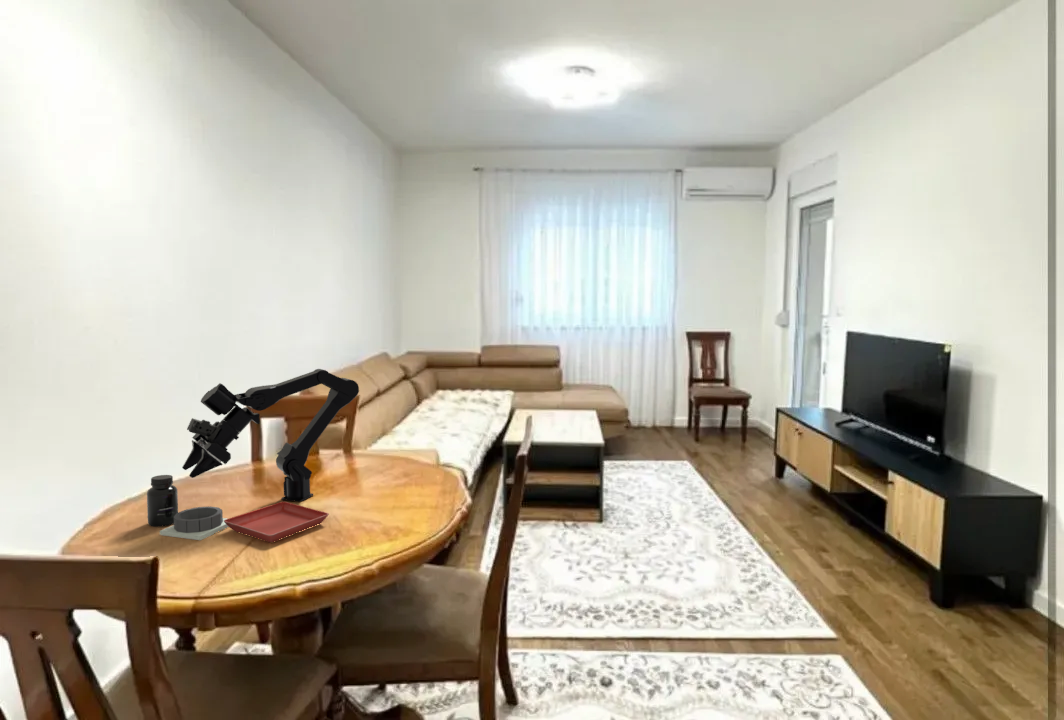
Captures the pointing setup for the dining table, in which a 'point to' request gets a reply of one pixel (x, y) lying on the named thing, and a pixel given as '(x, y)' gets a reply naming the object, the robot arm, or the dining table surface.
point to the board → (196, 536)
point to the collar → (198, 519)
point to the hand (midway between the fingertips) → (187, 472)
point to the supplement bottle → (162, 501)
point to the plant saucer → (276, 521)
